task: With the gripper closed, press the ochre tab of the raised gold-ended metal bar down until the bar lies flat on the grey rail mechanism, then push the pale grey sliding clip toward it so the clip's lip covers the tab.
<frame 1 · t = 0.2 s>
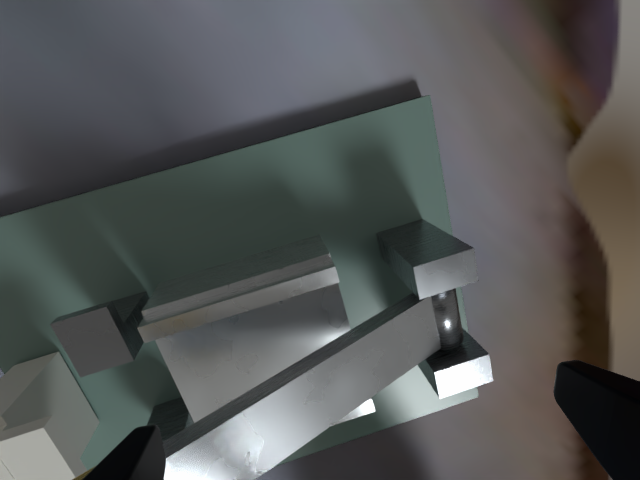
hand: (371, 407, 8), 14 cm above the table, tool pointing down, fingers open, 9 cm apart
gold-ended metal bar: (300, 402, 16), point 8 cm above the table, hinge at 22.0°
grey rail mechanism: (265, 319, 23), resting on board
clip: (49, 428, 18), point 4 cm above the table, slide at 0.0 cm
board: (249, 324, 23), on the table
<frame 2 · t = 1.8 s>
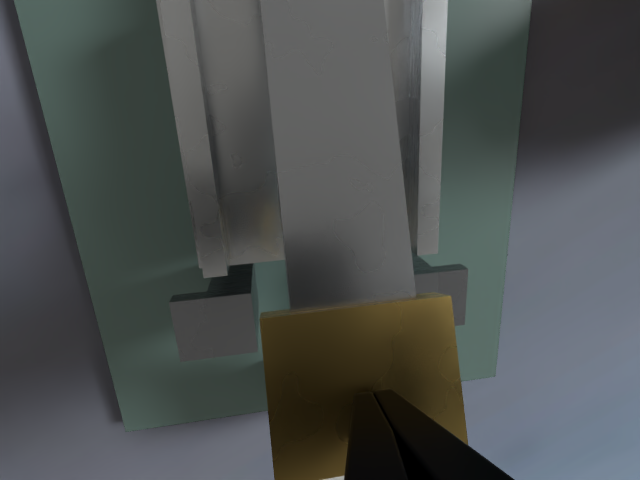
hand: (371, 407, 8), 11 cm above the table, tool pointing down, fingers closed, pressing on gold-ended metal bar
gold-ended metal bar: (328, 82, 9), point 8 cm above the table, hinge at 19.5°, touching gripper
grey rail mechanism: (301, 131, 17), resting on board
clip: (328, 394, 16), point 4 cm above the table, slide at 0.0 cm
board: (303, 153, 17), on the table
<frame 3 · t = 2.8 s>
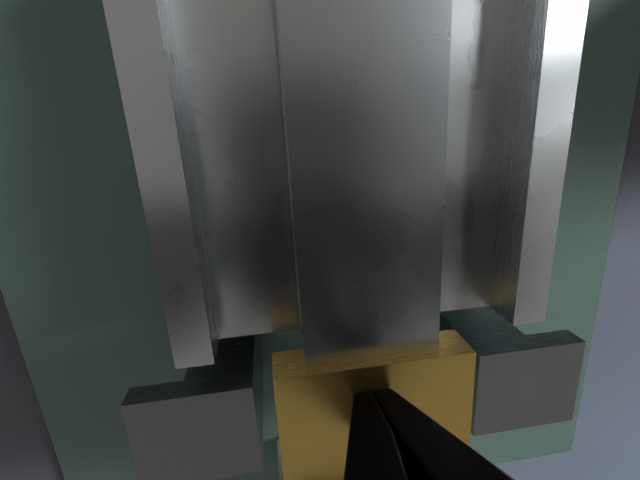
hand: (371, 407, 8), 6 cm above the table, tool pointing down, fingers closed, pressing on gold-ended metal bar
gold-ended metal bar: (362, 89, 7), point 5 cm above the table, hinge at 0.6°, touching gripper
grey rail mechanism: (324, 129, 12), resting on board
board: (325, 161, 12), on the table
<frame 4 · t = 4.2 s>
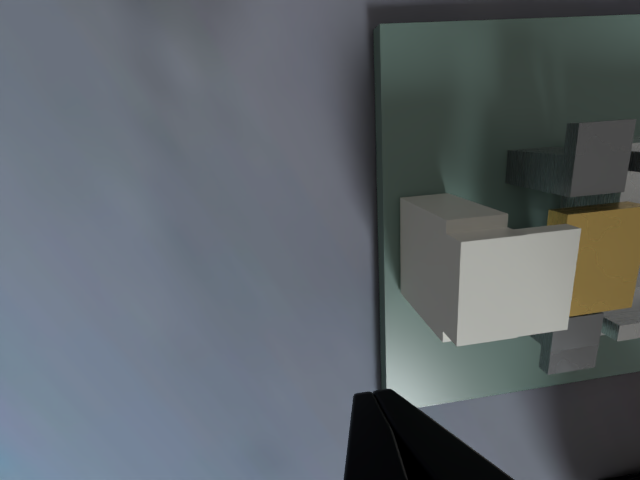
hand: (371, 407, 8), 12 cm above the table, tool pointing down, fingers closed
grey rail mechanism: (616, 216, 22), resting on board
clip: (474, 261, 16), point 4 cm above the table, slide at 0.0 cm
board: (600, 218, 21), on the table
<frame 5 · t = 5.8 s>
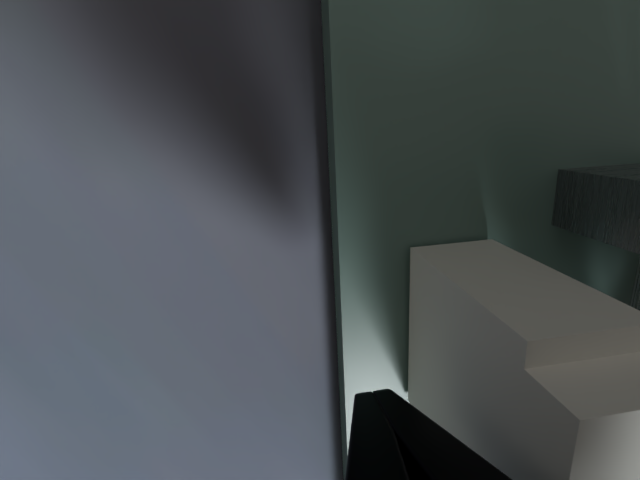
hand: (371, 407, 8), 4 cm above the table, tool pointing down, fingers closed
clip: (552, 381, 9), point 4 cm above the table, slide at 1.2 cm, touching gripper
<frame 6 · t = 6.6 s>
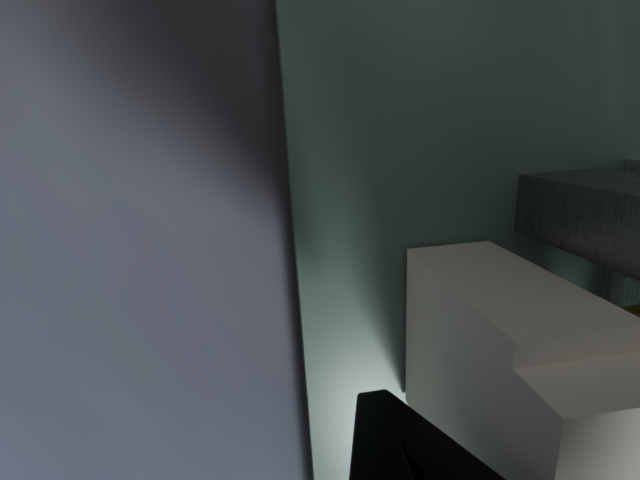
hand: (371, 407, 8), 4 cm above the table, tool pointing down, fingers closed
clip: (546, 382, 9), point 4 cm above the table, slide at 2.3 cm, touching gripper
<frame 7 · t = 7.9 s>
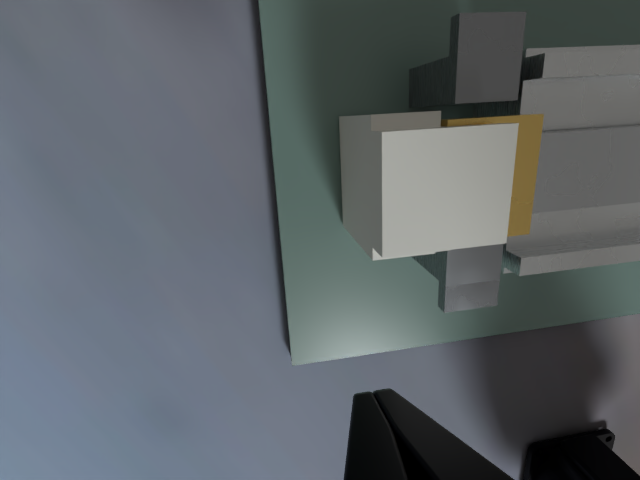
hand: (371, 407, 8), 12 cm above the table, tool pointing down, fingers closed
grey rail mechanism: (539, 154, 20), resting on board
clip: (413, 178, 15), point 4 cm above the table, slide at 2.2 cm
board: (521, 155, 20), on the table
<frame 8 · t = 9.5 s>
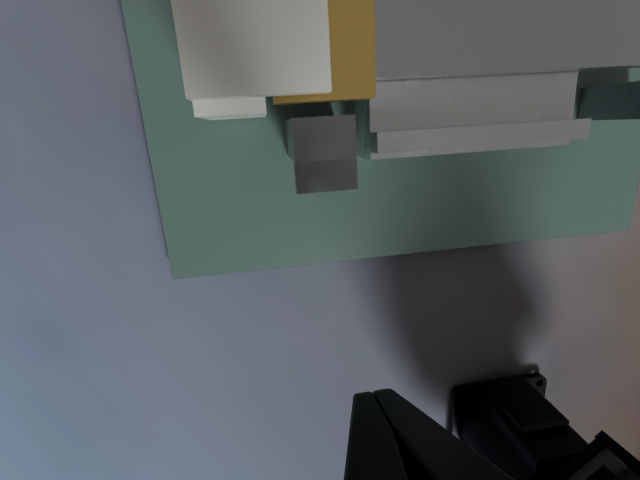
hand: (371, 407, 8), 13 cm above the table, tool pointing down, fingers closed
gold-ended metal bar: (509, 29, 14), point 5 cm above the table, hinge at 0.6°
grey rail mechanism: (432, 55, 19), resting on board
clip: (255, 43, 14), point 4 cm above the table, slide at 2.2 cm
board: (413, 55, 19), on the table
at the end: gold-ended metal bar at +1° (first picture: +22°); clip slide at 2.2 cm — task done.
